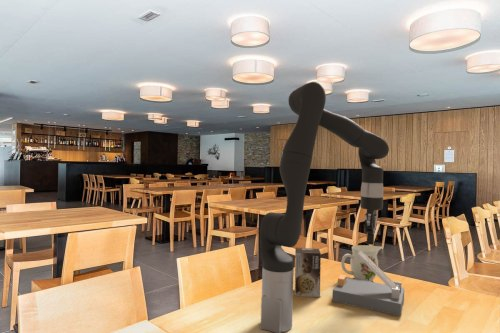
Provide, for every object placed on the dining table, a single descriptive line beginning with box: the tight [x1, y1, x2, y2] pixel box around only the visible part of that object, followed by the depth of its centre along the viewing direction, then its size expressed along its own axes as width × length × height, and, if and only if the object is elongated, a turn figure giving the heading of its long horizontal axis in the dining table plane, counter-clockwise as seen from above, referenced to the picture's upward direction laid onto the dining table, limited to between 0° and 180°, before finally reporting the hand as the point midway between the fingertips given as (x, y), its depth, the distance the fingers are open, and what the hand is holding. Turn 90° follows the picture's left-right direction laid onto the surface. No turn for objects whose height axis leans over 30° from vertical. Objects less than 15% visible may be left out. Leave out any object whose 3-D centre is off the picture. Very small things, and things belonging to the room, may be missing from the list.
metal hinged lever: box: [357, 250, 400, 290], centre depth 119 cm, size 6×18×2 cm
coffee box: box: [294, 247, 322, 298], centre depth 125 cm, size 9×6×16 cm
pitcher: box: [340, 244, 384, 282], centre depth 141 cm, size 11×18×14 cm, turn 99°
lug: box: [337, 274, 348, 286], centre depth 125 cm, size 5×2×2 cm, turn 152°
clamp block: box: [331, 276, 405, 317], centre depth 121 cm, size 16×22×7 cm
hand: (370, 243), depth 121 cm, fingers closed
